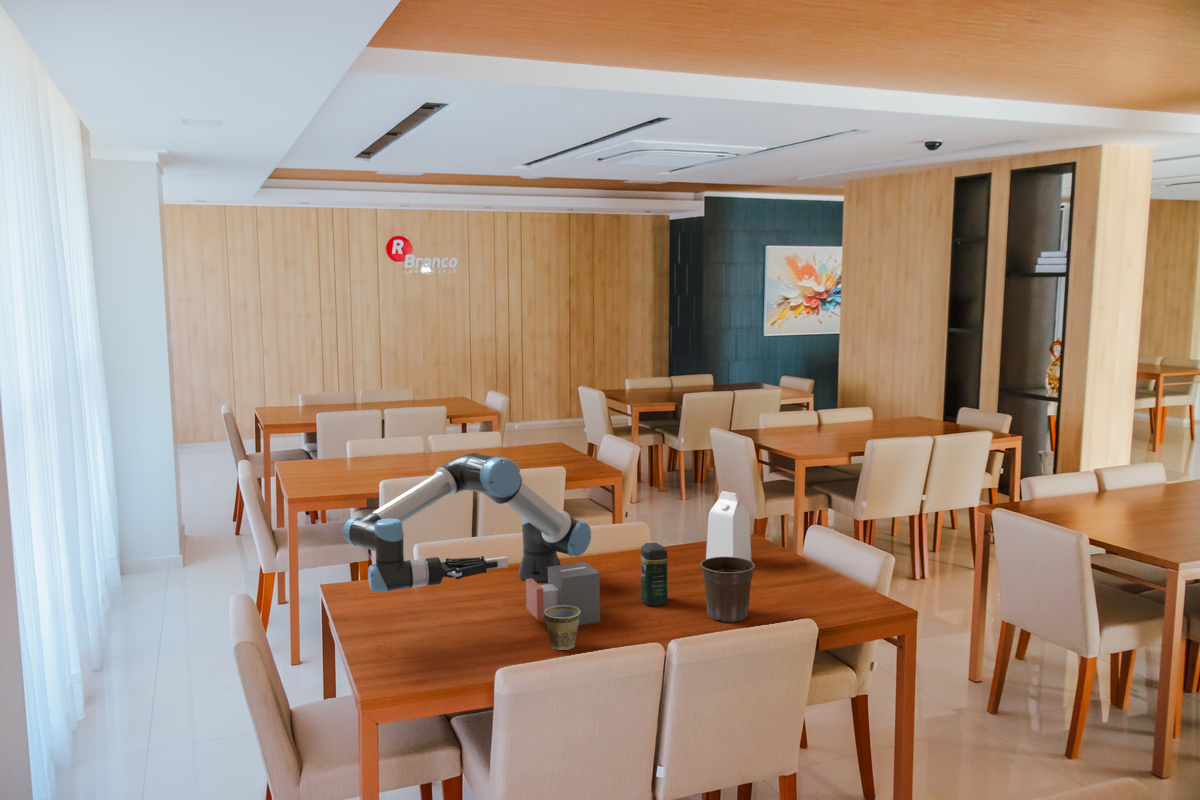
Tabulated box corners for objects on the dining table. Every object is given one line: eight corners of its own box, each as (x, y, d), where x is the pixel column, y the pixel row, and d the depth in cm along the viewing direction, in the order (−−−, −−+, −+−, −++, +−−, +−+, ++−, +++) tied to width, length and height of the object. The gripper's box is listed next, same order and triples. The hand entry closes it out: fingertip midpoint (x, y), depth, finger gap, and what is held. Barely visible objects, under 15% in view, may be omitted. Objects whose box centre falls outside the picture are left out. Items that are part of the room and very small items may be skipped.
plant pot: (690, 610, 261) (690, 559, 259) (736, 603, 267) (736, 553, 265) (717, 629, 246) (717, 575, 244) (764, 620, 252) (765, 568, 250)
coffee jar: (670, 605, 265) (670, 548, 263) (646, 608, 264) (645, 550, 262) (661, 595, 275) (661, 539, 273) (638, 597, 273) (637, 541, 271)
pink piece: (537, 619, 246) (536, 589, 245) (526, 608, 255) (525, 579, 254) (581, 612, 251) (581, 582, 250) (569, 601, 260) (569, 572, 259)
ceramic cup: (581, 652, 231) (581, 617, 230) (545, 654, 230) (544, 618, 229) (579, 634, 244) (578, 600, 242) (544, 635, 243) (543, 602, 242)
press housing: (562, 628, 248) (561, 577, 246) (548, 614, 259) (547, 565, 257) (600, 621, 253) (599, 572, 251) (584, 608, 264) (584, 560, 262)
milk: (751, 562, 309) (752, 492, 306) (733, 569, 301) (733, 497, 298) (724, 555, 317) (724, 487, 314) (705, 562, 309) (706, 492, 306)
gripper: (421, 578, 243) (501, 567, 252) (431, 592, 231) (514, 580, 240) (420, 552, 242) (500, 543, 251) (430, 565, 230) (513, 554, 239)
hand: (507, 561), depth 245 cm, fingers closed
